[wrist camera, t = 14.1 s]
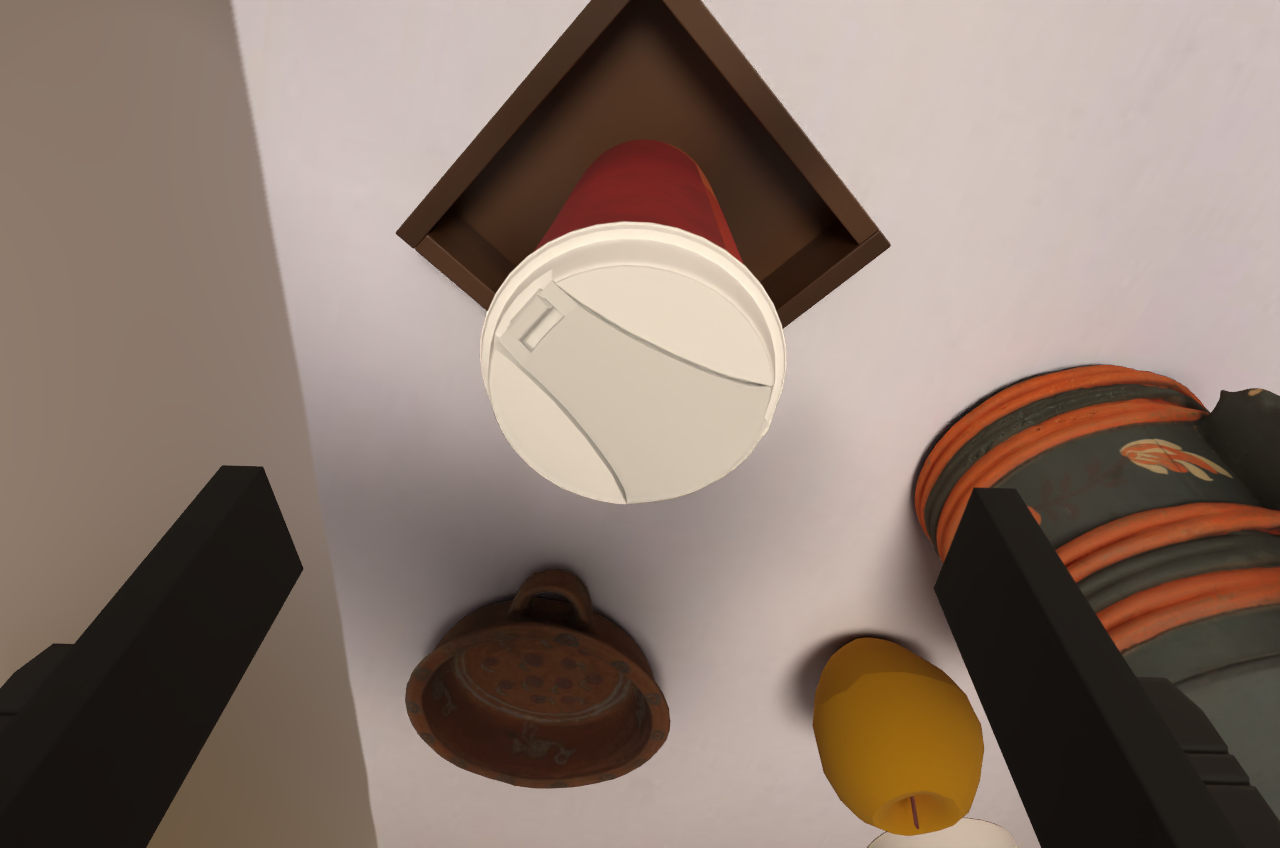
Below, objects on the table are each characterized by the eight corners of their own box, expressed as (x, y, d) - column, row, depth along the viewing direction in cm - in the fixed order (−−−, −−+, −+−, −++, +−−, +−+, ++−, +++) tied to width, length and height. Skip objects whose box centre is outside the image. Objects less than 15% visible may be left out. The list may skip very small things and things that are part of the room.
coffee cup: (511, 215, 30) (405, 405, 18) (638, 59, 26) (615, 162, 14) (651, 332, 33) (643, 563, 21) (782, 208, 29) (866, 398, 17)
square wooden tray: (424, 201, 30) (394, 233, 27) (650, -66, 24) (647, -67, 21) (640, 393, 36) (638, 440, 32) (866, 212, 30) (892, 246, 27)
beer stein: (1061, 240, 30) (1525, 583, 14) (1334, 322, 32) (2024, 710, 16) (868, 535, 41) (1004, 926, 25) (1082, 584, 43) (1340, 977, 27)
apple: (960, 607, 44) (1042, 789, 35) (921, 694, 50) (983, 872, 40) (811, 601, 45) (851, 781, 35) (788, 689, 50) (818, 865, 41)
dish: (701, 570, 43) (705, 635, 39) (641, 753, 56) (639, 817, 52) (424, 530, 42) (398, 593, 38) (426, 727, 54) (407, 790, 50)
